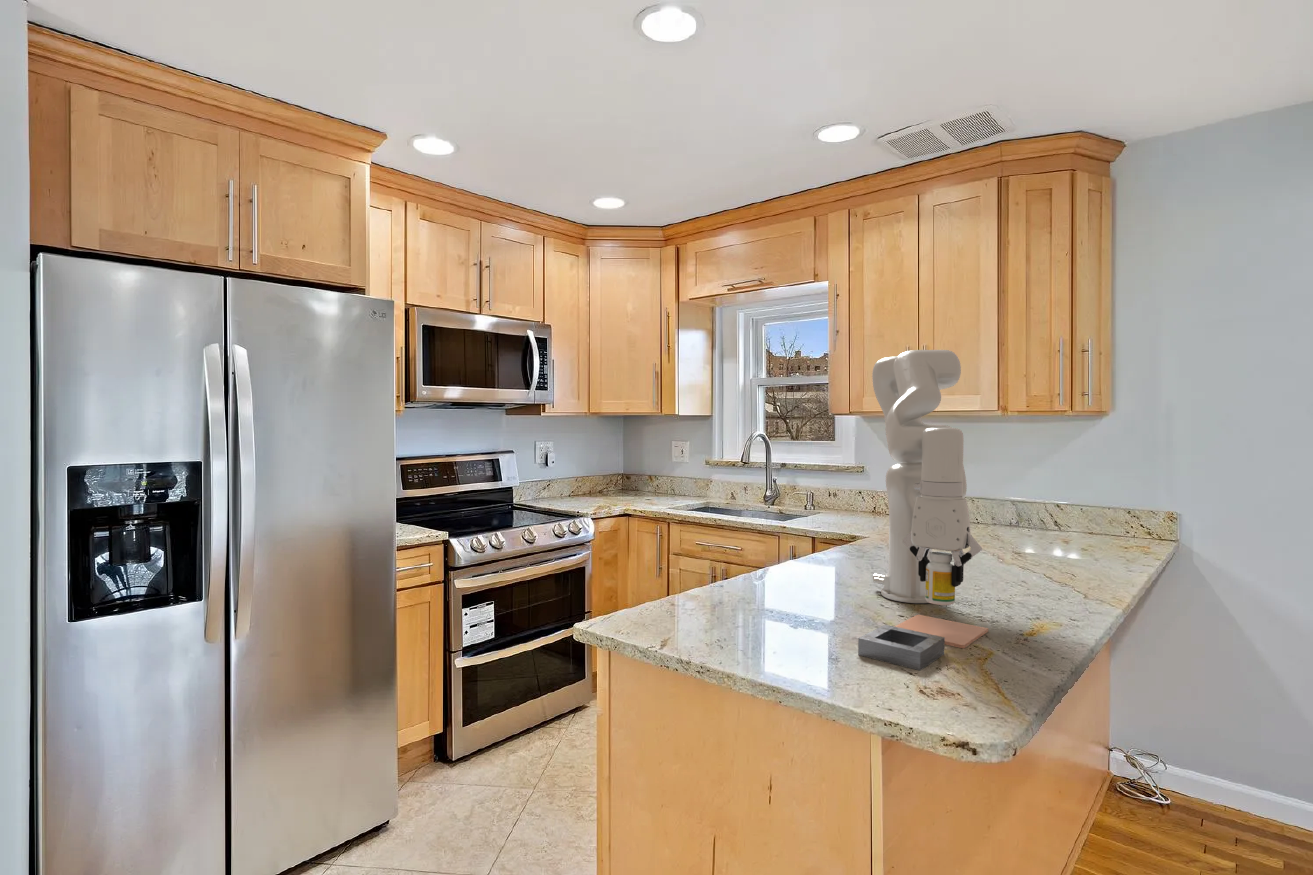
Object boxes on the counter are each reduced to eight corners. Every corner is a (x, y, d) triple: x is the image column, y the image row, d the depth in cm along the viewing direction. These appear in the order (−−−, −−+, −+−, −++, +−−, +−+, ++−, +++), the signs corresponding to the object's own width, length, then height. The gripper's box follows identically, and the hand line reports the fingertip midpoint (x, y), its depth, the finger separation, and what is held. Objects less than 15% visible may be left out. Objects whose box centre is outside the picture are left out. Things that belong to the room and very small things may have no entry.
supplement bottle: (919, 600, 136) (920, 551, 136) (938, 597, 139) (939, 550, 138) (941, 606, 131) (942, 556, 131) (961, 603, 134) (961, 554, 134)
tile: (889, 632, 135) (889, 628, 135) (917, 617, 145) (917, 614, 145) (963, 648, 126) (963, 645, 126) (988, 631, 136) (988, 628, 136)
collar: (858, 654, 122) (858, 637, 122) (884, 640, 130) (885, 624, 130) (920, 670, 114) (920, 652, 114) (944, 653, 123) (944, 637, 122)
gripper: (891, 488, 138) (890, 579, 138) (981, 495, 126) (980, 593, 126) (906, 486, 143) (905, 573, 144) (994, 492, 132) (993, 586, 132)
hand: (940, 581), depth 135 cm, fingers closed on supplement bottle, 5 cm apart
